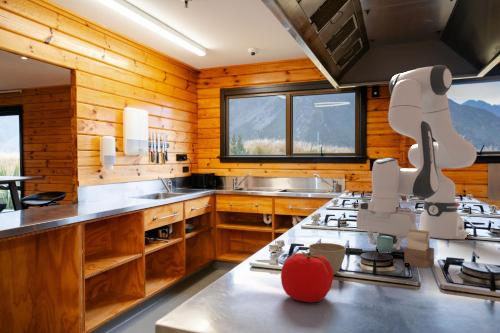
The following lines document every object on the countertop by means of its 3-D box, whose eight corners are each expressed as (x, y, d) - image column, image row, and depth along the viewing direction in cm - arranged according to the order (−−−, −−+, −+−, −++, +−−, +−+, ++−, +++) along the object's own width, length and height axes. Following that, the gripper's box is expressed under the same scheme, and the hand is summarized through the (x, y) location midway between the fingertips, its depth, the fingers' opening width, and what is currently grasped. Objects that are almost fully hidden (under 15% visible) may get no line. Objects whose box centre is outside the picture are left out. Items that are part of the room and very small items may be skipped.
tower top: (411, 245, 109) (411, 229, 108) (429, 247, 105) (429, 231, 105) (406, 248, 105) (407, 231, 105) (424, 251, 101) (425, 233, 101)
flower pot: (346, 269, 100) (347, 244, 100) (344, 280, 91) (344, 252, 90) (311, 265, 103) (311, 241, 103) (305, 276, 94) (306, 249, 94)
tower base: (413, 260, 109) (414, 244, 109) (433, 265, 105) (434, 248, 105) (404, 264, 106) (404, 247, 105) (424, 268, 101) (424, 251, 101)
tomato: (297, 313, 71) (298, 262, 71) (271, 293, 82) (272, 249, 81) (345, 303, 76) (345, 256, 76) (315, 286, 86) (315, 244, 86)
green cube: (382, 249, 123) (382, 235, 123) (395, 252, 119) (395, 237, 119) (374, 251, 120) (374, 237, 119) (387, 254, 116) (387, 239, 116)
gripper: (420, 208, 113) (419, 251, 113) (364, 202, 129) (364, 240, 129) (410, 210, 109) (410, 254, 109) (354, 203, 125) (353, 242, 125)
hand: (384, 246), depth 119 cm, fingers open, 7 cm apart
